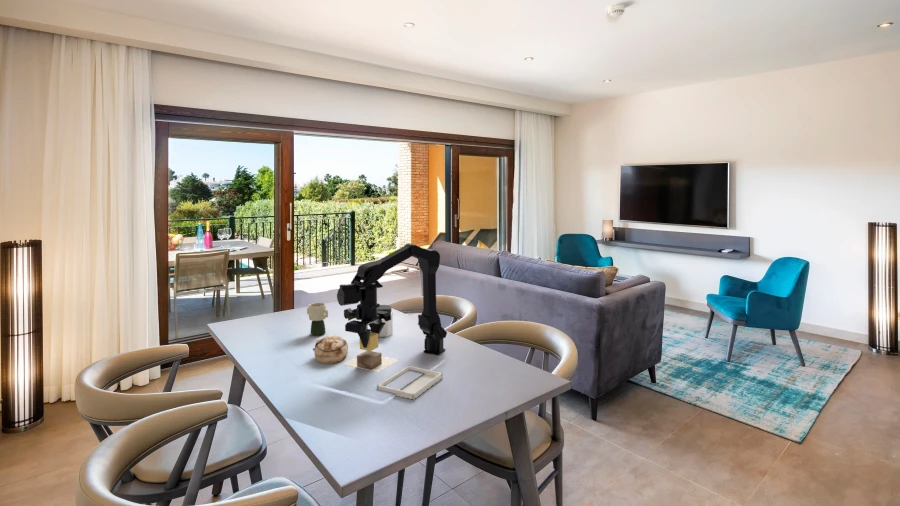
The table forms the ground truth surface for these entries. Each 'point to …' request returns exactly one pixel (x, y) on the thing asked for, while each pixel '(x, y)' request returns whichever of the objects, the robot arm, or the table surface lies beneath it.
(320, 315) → the character mug
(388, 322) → the jar
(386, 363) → the building board
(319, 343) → the trinket box
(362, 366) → the walnut brick
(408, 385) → the cream rectangular tray
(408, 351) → the table surface
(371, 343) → the ochre brick
